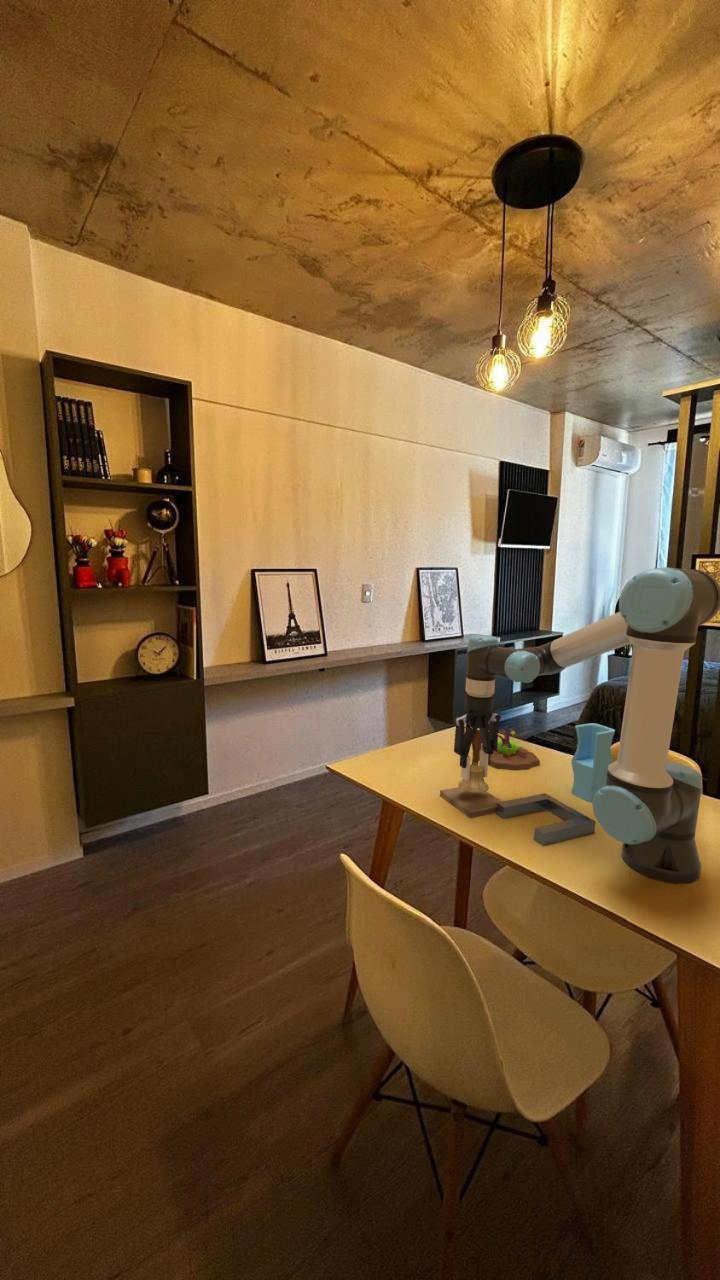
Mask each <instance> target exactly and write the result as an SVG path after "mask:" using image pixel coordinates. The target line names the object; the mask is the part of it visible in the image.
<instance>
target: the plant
mask: <svg viewBox="0 0 720 1280" xmlns="http://www.w3.org/2000/svg"><path fill="white" fill-rule="evenodd" d="M502 734H503V736H502ZM510 735H511V736H515V735H516V732H515V730H514V729H512V728H510V729H509V730H508V731H507V733H506V731H505V730H504V729H502V728H501V729H500V730H499V734H498V738H500V740H499V739H498V746H497V750H496V751H495V750H493V752H494V753H493V754H492V755H491V754H490V763H489V764H488V767H491V768H494V769H496V770H505V771H506V770H508V771H524V770H525V771H526V770H530V769H531V768H535V767H540V765H541V760H540V759H539V758H538V757H537V755H536V754H535V753H534V752H532V751H529V750H528V749H527V748H524V747H523V746H524V745H523V744H518V745H516V743H517V742H516V740H514V739H512V738H511V739H510ZM480 751H483V752H484V750H483V747H482V745H481V749H480ZM480 751H479V759H478V760H479V762H480Z"/></svg>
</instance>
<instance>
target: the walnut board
mask: <svg viewBox="0 0 720 1280" xmlns="http://www.w3.org/2000/svg"><path fill="white" fill-rule="evenodd" d="M439 791H440V792H439V797H441V798H443V799H444V800H445V801H446V802H448V803H449V804H450V805H451V806H453V807H454V808H455V809H457V810H459V812H461V813H462V814H464V815H466V817H468V818H469V819H470V818H475V817H481V816H485V815H490V814H496V806H497V803H498V802H503V801H502V800H500V799H499V798H497V797H496V796H494V795H493V794H491V793H489V792H488V791H486V792H482V793H472V792H468V791H465V790H463V789H461V788H460V787H459V786H457V787H453V788H446V789H442V790H439Z"/></svg>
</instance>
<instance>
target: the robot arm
mask: <svg viewBox="0 0 720 1280" xmlns="http://www.w3.org/2000/svg"><path fill="white" fill-rule="evenodd" d="M618 609H619V611H618V612H615V613H613V614H611V615H609V616H607V617H604V618H602V619H600V620H597V621H595V622H593V623H591V624H590V623H589V625H585V626H583V627H582V628H579V629H577V630H575V631H572V632H570V633H568V634H565V635H563V636H561V637H558V638H557V639H554V640H552V641H550V642H547V643H546V644H542V645H540V646H532V647H522V648H508V647H502V646H499V643H498V638H497V637H495V636H494V635H493V636H492V635H482V634H481V635H476V634H475V635H472V636H470V637H469V640H468V644H467V650H466V653H467V655H466V661H467V662H466V675H465V676H466V677H465V689H464V690H465V692H466V693H465V695H464V709H465V711H464V713H463V715H462V716H460V717H458V716H457V717H454V724H455V733H454V742H453V743H454V745H453V752H454V753H455V754H457V755H458V756H459V766H460V768H461V770H460V777H461V779H462V778H464V779H465V780H467V781H468V780H469V774H470V765H471V760H472V759H471V756H469V754H470V750H471V748H472V740H473V737H474V734H475V733H476V731H477V730H480V733H481V737H482V744H481V746H482V747H483V750H484V752H483V751H480V761H479V762H478V765H479V766H480V767H482V769H483V777H484V778H488V770H489V769H488V767H489V765H488V764H489V763H490V754H491V755H492V754H493V753H494V752H493V750H495V751H496V750H497V746H498V740H499V737H498V735H499V725H500V721H501V717H502V716H501V715H499V714H497V713H495V712H493V709H494V701H495V696H494V694H495V689H496V688H495V687H496V686H495V684H496V677H499V678H502V679H506V680H510V681H514V682H515V683H525V684H528V683H532V682H533V681H534V680H535V679H536V678H537V677H540V676H547V675H549V676H550V675H555V674H558V673H560V672H563V671H565V669H566V668H569V667H571V666H573V665H577V664H579V663H583V662H584V661H587V660H590V659H592V658H595V657H598V656H600V655H603V654H607V653H609V652H611V651H614V650H618V649H620V648H622V647H625V646H628V645H631V644H632V653H631V660H630V666H629V674H628V682H627V688H626V689H627V690H626V697H625V703H624V708H623V709H624V710H623V718H622V723H621V724H622V725H621V731H620V739H619V745H618V751H617V753H618V754H617V759H616V760H615V761H613V763H611V764H610V765H609V766H608V771H607V778H606V785H605V786H604V787H602V788H600V789H599V790H598V792H597V793H596V794H595V796H594V798H593V802H592V811H593V814H594V817H595V819H596V821H597V823H599V824H600V826H601V829H603V831H604V832H605V833H606V834H607V835H608V836H610V837H611V838H612V839H613V840H616V841H618V842H621V844H622V846H621V858H622V859H623V861H624V863H626V864H627V865H628V866H629V867H630V868H632V869H633V870H634V871H636V872H637V873H640V874H642V875H643V876H646V877H648V878H651V879H654V880H657V881H660V882H661V881H662V882H664V883H670V884H678V885H679V884H680V885H683V884H692V883H694V882H696V881H698V880H699V879H700V877H701V872H702V870H701V869H702V864H701V863H702V862H701V861H700V856H699V852H698V848H697V843H696V830H697V825H698V816H699V808H700V803H701V802H700V801H701V797H702V796H701V793H702V791H703V786H702V783H703V781H702V780H703V777H702V775H701V774H700V772H699V771H698V770H696V769H694V768H693V767H690V766H687V765H684V764H682V763H678V762H674V761H670V760H668V759H669V753H670V752H669V751H670V746H671V745H670V744H671V739H672V732H673V724H674V721H675V720H674V719H675V712H676V705H677V700H678V696H679V694H678V692H679V687H680V680H681V675H682V668H683V664H684V663H683V662H684V654H685V652H686V651H687V650H688V649H690V648H691V647H693V646H694V645H695V644H696V641H697V633H698V628H699V627H700V626H702V625H704V624H707V623H709V622H710V621H711V620H712V619H713V618H714V617H716V615H717V614H718V613H719V611H720V584H719V582H718V581H717V580H716V579H715V578H714V577H713V576H712V575H711V574H709V573H707V572H705V571H702V570H700V569H696V568H695V569H694V568H677V567H676V568H675V567H674V568H673V567H668V566H667V567H656V568H651V569H646V570H643V571H641V572H639V573H637V574H635V575H634V576H633V577H632V578H630V579H629V580H628V582H626V583H625V585H624V586H623V589H622V590H621V592H620V596H619V600H618Z"/></svg>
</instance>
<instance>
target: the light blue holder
mask: <svg viewBox="0 0 720 1280" xmlns="http://www.w3.org/2000/svg"><path fill="white" fill-rule="evenodd" d="M574 727H575V731H576V736H577V746H576V750H575V752H574V754H573V756H572V759H571V765H572V766H571V767H572V772H573V781H572V782H573V783H572V784H573V785H572V789H571V791H570V793H571V794H572V795H574V796H576V797H578V798H581V800H584V801H586V802H589V803H593V798H594V796H595V794H596V793H597V792H598V790H599V789H600V788H602V787H604V786H605V785H606V778H607V771H608V766H609V765H610V764H611V763H613V762H614V760H613V757H612V756H613V755H612V749H611V747H612V742H613V737H614V735H615V732H616V730H615V729H614V728H612V727H608V726H605V725H602V724H599V723H594V722H593V723H592V722H591V723H590V722H589V723H583V724H578V725H575V726H574Z"/></svg>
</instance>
